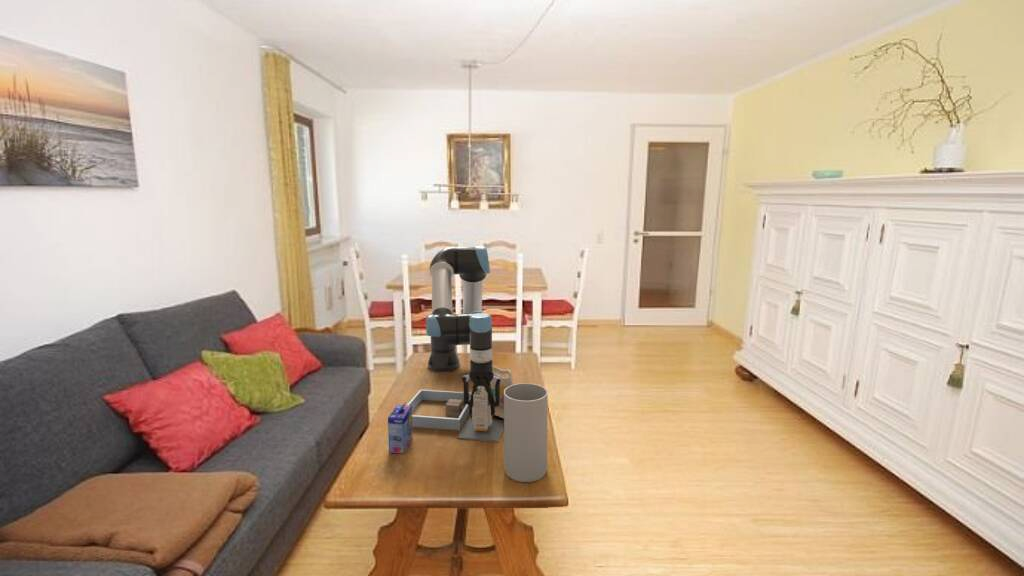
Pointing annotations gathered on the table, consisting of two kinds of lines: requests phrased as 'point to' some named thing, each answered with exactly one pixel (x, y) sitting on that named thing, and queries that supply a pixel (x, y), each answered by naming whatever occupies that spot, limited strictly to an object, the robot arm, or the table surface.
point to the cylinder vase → (525, 432)
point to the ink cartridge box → (400, 428)
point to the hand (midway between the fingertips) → (482, 423)
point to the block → (454, 408)
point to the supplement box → (481, 409)
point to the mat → (489, 435)
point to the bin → (439, 421)
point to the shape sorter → (501, 389)
